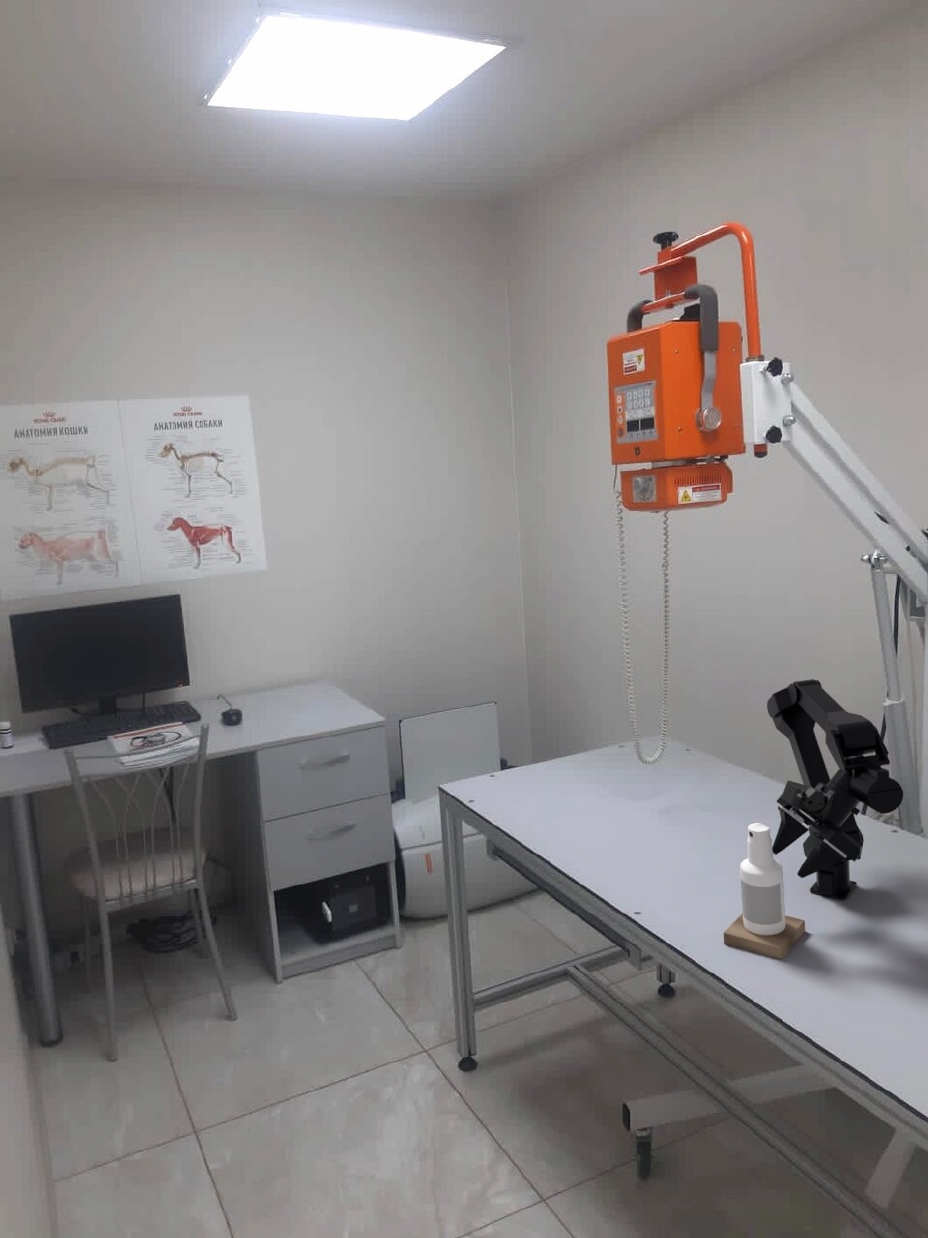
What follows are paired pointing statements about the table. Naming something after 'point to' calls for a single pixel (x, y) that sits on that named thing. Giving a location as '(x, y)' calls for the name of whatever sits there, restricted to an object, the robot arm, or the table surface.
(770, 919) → the spray bottle
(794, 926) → the brown flat square block
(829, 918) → the table surface
